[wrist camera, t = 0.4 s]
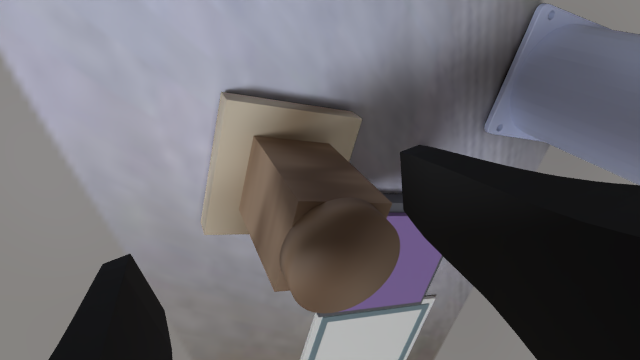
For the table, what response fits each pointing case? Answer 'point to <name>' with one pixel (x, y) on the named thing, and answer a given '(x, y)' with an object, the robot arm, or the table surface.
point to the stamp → (300, 200)
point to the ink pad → (403, 266)
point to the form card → (367, 334)
